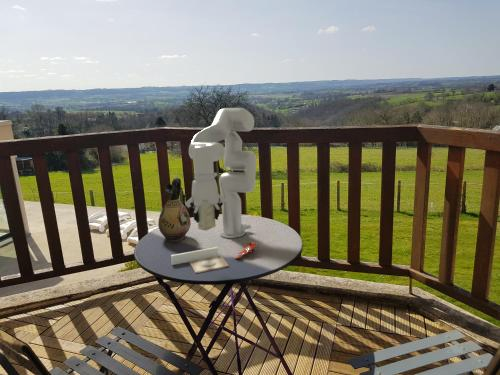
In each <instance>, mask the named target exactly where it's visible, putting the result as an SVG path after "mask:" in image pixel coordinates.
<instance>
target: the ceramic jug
mask: <svg viewBox="0 0 500 375" xmlns="http://www.w3.org/2000/svg"><path fill="white" fill-rule="evenodd" d="M172 179H173V180H171V184H170V183H166V184H165V185H164V191H165V192H166V193H167V194H168V193H169V194H170V195H169V196H170V197H169V198H168V200H167V201H166V202H165V204H164V206H163V208H162V210H161V211H160V213H159V216H158V217H159V218H158V222H157V225H158V229H159V232H160V234H161V235H162V236H163V237H164V240H165V241H166V242H169V243H171V242H172V243H174V242H175V243H176V242H180V241H182V240H184V239H185V236H186V235H187V234H188V232H189V230H190V229H191V224H192V223H191V217H190V214H189V211H188V210H187V208H186V207H185V205H184V204H183V203H182V201H181V200H180V194H181V189H182V188H181V187H182V180H181V178H180V177H176V178H172Z"/></svg>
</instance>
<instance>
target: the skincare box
mask: <svg viewBox="0 0 500 375" xmlns="http://www.w3.org/2000/svg"><path fill="white" fill-rule="evenodd" d="M197 212H198V217H199V222H198V223H197V228H198V230H201V231H205V232H206V231H210V230H211V229H213V228H216V219H215V206H214V205H209V202H208V201H202V206H200V207H199V209H198V211H197Z"/></svg>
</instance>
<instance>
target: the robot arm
mask: <svg viewBox="0 0 500 375" xmlns="http://www.w3.org/2000/svg"><path fill="white" fill-rule="evenodd" d="M254 126H255V118H254V116H253V114H252V113H251V112H250V111H248V110H247V109H245V108H243V107H224V108H221V109H219V110H218V111H217V112H216V114H215V116H214V118H213V121H212V123H211V125H210V126H207V127H206V128H203V129H202V130H201V131H198V132H197V133H196V134H195V135H194V136H193V138H192V140H191V142H190V143H189V147H188V155H189V158H190V159H191V160H192V161H193V170H194V171H193V173H194V180H192V182H191V197H190V198H189V199H188V200H187V201H185V203H184V204H185V205H184V206H186V207H187V208H188V209H189V210H190V211H191V212H192V213H193V220H194V222H196V223H197V224H198V222H199V217H198V212H197V211H198V209H199V207H200V206H202V201H208V202H209V205H214V206H215V221H218V220H219V217H220V213H219V211H220V209H221V210H222V211H221V216H222V229H221V230H220V231H219V235H220V236H221V237H223V238H226V239H237V237H238V238H240V237H243V236H244V235H245V234H246V231H245V230H246V229H252V228H251V227H252V226H251V224H246V223H244V224H243V223H242V222H243V221H242V199H241V197H240V195H239V193H247V194H248V193H252V192H254V190H255V187H256V175H257V173H256V172H257V156H256V154H255V152H254V151H251V150H243V140H242V138H241V137H240V135H239V134H238V133H237V132H250V131H252V130H253V129H254ZM223 140H224V145H223V144H222V143H220V142H221V141H223ZM222 159H223V165H224V168H225V169H227V170H229V171H228V172H223V173H222V174H221V175H219V179H218V184H217V180H216V179H215V178H216V177H218V172H214V170H215V169H214V162H218V161H221V160H222ZM232 171H233V172H232ZM234 171H245V172H234ZM218 185H219V188H218ZM219 189H220V193H219ZM191 203H192V204H193V206H192V205H191Z"/></svg>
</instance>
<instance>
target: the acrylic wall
mask: <svg viewBox="0 0 500 375" xmlns="http://www.w3.org/2000/svg"><path fill="white" fill-rule="evenodd" d="M218 252H219V250H218V247H217V246H215V247H209V248H204V249H203V248H202V249H198V250H192V251H187V252H182V253H175V254H171V255H170V259H171V262H170V263H171V265H172V266H174V265H180V264H184V263H189V262H192V261H197V260H202V259H208V258H213V257H218V256H219V253H218Z"/></svg>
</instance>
